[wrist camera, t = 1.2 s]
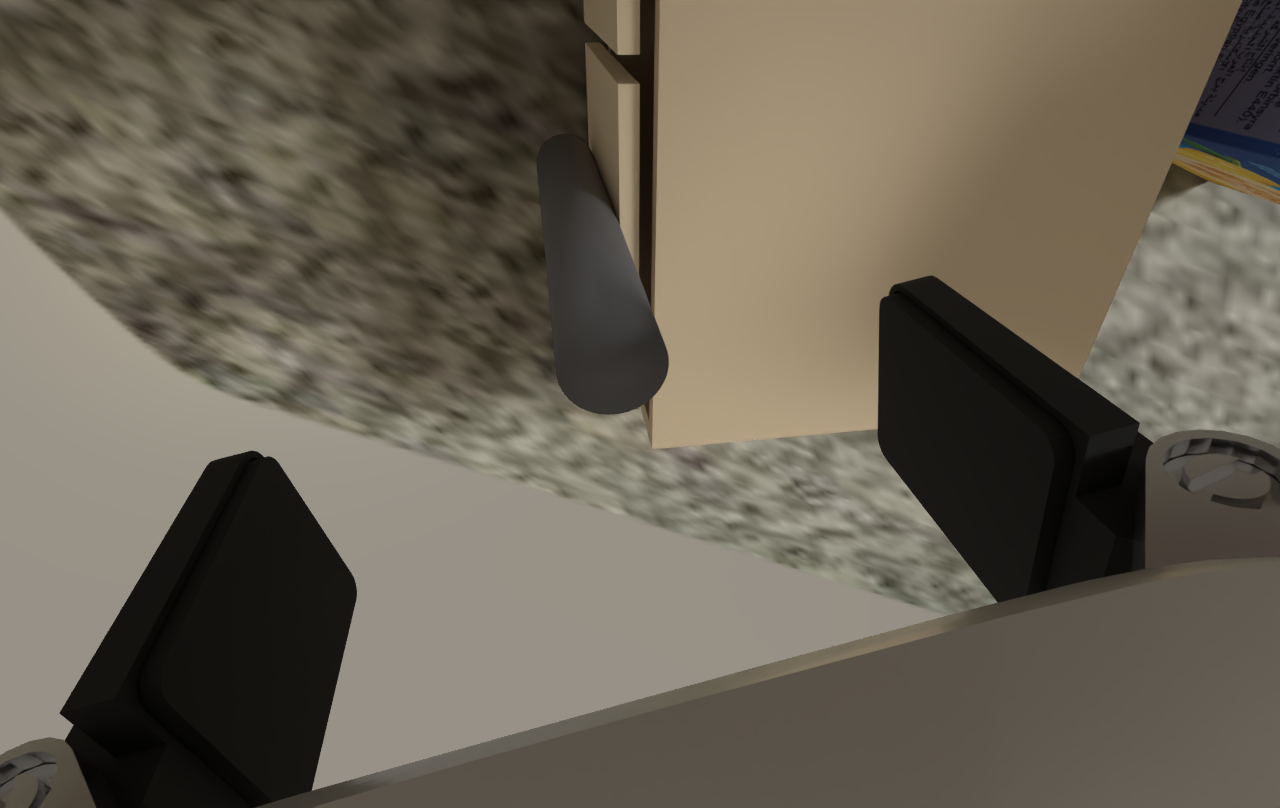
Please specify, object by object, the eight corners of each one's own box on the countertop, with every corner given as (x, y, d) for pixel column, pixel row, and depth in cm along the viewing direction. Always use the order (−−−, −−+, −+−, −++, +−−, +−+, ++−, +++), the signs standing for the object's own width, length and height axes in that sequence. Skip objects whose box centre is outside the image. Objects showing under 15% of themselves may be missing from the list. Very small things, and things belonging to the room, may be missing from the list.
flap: (599, 42, 23) (705, 152, 10) (606, 288, 28) (681, 570, 15) (526, 43, 22) (539, 158, 10) (546, 291, 27) (572, 583, 15)
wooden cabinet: (1091, -398, 19) (1532, -669, 11) (917, 289, 31) (1064, 411, 22) (599, -437, 17) (674, -799, 9) (613, 308, 29) (652, 449, 21)
